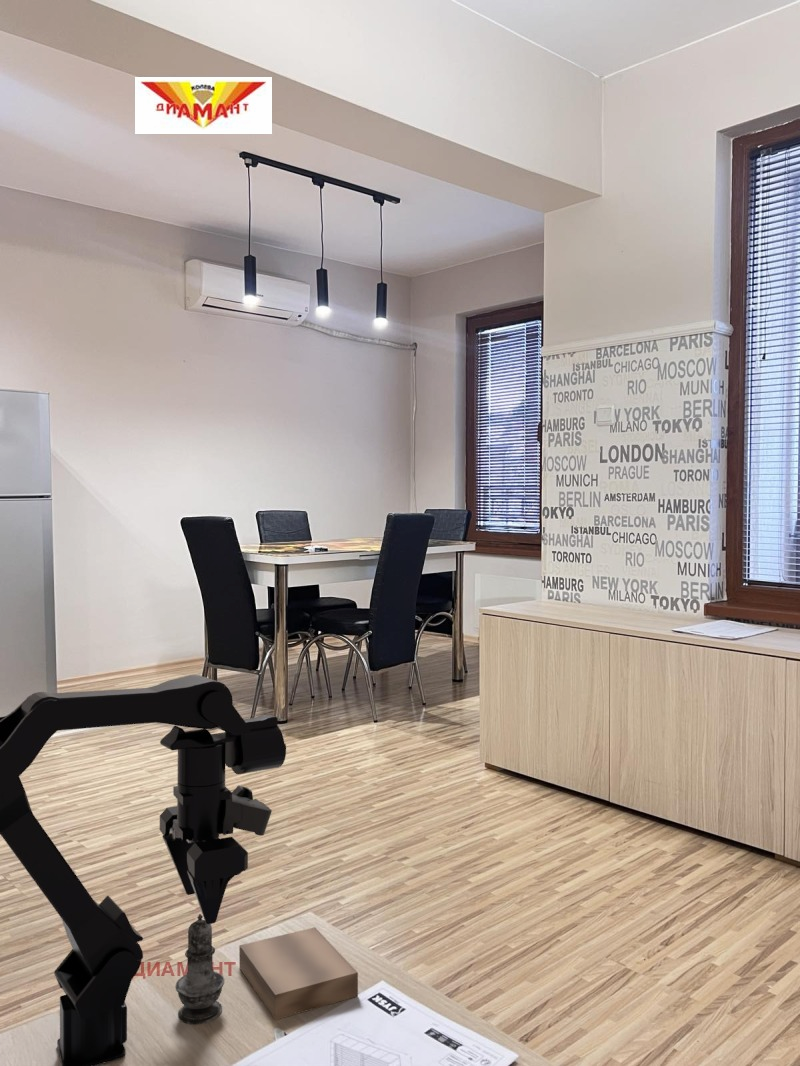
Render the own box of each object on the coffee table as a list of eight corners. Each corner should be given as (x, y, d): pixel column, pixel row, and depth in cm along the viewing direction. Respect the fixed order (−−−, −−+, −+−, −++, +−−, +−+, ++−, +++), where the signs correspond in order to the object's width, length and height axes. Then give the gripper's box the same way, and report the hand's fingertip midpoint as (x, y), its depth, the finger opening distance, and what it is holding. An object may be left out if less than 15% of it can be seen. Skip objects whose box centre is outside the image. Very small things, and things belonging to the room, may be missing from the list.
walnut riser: (275, 1019, 103) (275, 994, 103) (239, 967, 115) (239, 945, 115) (357, 996, 108) (357, 972, 108) (315, 948, 120) (315, 927, 120)
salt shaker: (164, 1017, 103) (164, 918, 103) (197, 994, 108) (197, 900, 108) (202, 1030, 101) (202, 929, 101) (234, 1006, 106) (234, 909, 106)
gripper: (290, 791, 100) (289, 925, 100) (241, 755, 117) (241, 869, 116) (196, 805, 95) (195, 946, 95) (159, 765, 111) (158, 885, 111)
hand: (200, 908), depth 104 cm, fingers open, 9 cm apart
